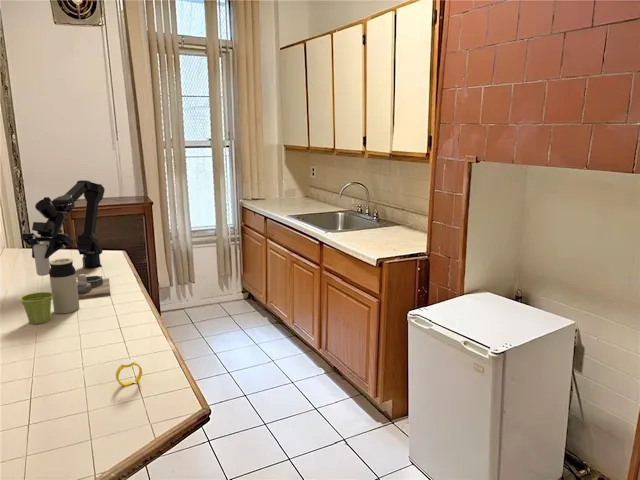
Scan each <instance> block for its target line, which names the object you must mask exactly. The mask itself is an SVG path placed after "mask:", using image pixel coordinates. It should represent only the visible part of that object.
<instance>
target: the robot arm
mask: <svg viewBox="0 0 640 480" xmlns="http://www.w3.org/2000/svg"><path fill="white" fill-rule="evenodd" d="M104 193H105V187H104V186H103V184H101V183H96V182H92V181H89V180H83V179H81V180H78V181H76V184H74V185H73V186H72V187H71V188H70V189H69V190H68V191H67V192H65V194H63V195H60V196H58V197H55V198H53V200H51V197H48V196H44V197H43V199H41V200H39V201H38V202H36V203H35V205H34V207H35V210H36V211H37V212H38V213H39V214H41V216H42V217H44V218H45V219H47V220H46V222H41V221H39V222H37V221H33V222H32V228H31V231H35V232H36V234H38V235H39V236H38V235H36V234H35V233H33V232H24V233H22V234H21V237H20V239H21V240H22V241H23V242H24V243H25V244H27V246H31V258H33V259H35V257H34V250H33V247H34V245H36V244H41V242H45V243H46V242H47V243H49V244H48V246H47V247H48V249H47V252H46V254H45V258H46V259H47V258H48V257H49V258H50V257H51V256H52V255H54V254H55V253H56V252H57V251H59V250H61V249H64V247H72V246H73V245H74V240H73V239H72V238H71V236H70V235H69V234H67V233H62V232H63V230H62V227H63V224H64V222H65V223H66V222H69V220H68V217H67V215H65V214H64V213H67V214H68V213H72V211H73V209H74V208H75V203H76V202H77V201H78V200H79V198H80V197H81V196H83V197H84V199H85V201H86V205H85V206H86V207H85V216H84V222H83V230H82V231H83V232H82V233H81V234H78V236H77V242H76V248H77V250H78V254H79V255H82V258H81V259H82V267H84V268H85V269H87V270H88V269H93V268H94V269H95V268H100V267H102V266H103V265H102V264H101V258H100V257H101V256H100V255H102V254H103V251H104V250H103V247H102V246H101V245H100V244H99V238H98V237H97V234H96V228H97V220H98V219H97V218H98V213H99V212H98V211H99V204H100V203H101V201H102V200H103V198H104Z"/></svg>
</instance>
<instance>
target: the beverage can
mask: <svg viewBox="0 0 640 480" xmlns="http://www.w3.org/2000/svg"><path fill="white" fill-rule="evenodd" d="M48 247H49V246H48V244H47V243H40V244H36V245H34V247H33V250H34V257H35V258H34V263H35V270H36V274H37V275H38V276H42V277H43V276H48V275H49V271H50V268H51V266H50V264H49V262H50V257H48V258H47V259H46V258H45V254H46V252H47V249H48ZM49 276H50V275H49Z"/></svg>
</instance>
